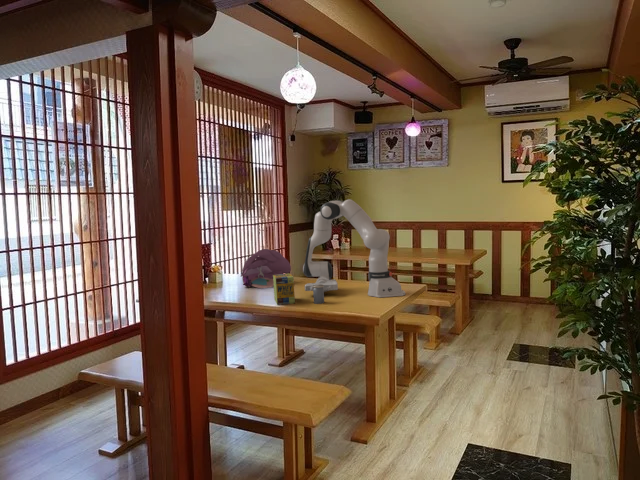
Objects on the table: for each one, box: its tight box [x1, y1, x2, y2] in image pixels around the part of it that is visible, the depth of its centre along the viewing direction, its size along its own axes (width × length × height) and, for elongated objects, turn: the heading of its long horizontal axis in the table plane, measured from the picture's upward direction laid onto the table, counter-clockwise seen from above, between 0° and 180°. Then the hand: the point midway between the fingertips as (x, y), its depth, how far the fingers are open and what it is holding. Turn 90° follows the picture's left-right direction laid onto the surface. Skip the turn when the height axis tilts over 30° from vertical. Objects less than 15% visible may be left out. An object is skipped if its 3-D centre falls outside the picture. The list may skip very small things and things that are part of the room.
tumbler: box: [312, 284, 325, 305], centre depth 284 cm, size 6×6×10 cm
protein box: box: [273, 273, 296, 306], centre depth 291 cm, size 10×15×16 cm
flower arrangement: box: [240, 248, 292, 289], centre depth 348 cm, size 35×24×28 cm
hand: (320, 289), depth 295 cm, fingers open, 8 cm apart
